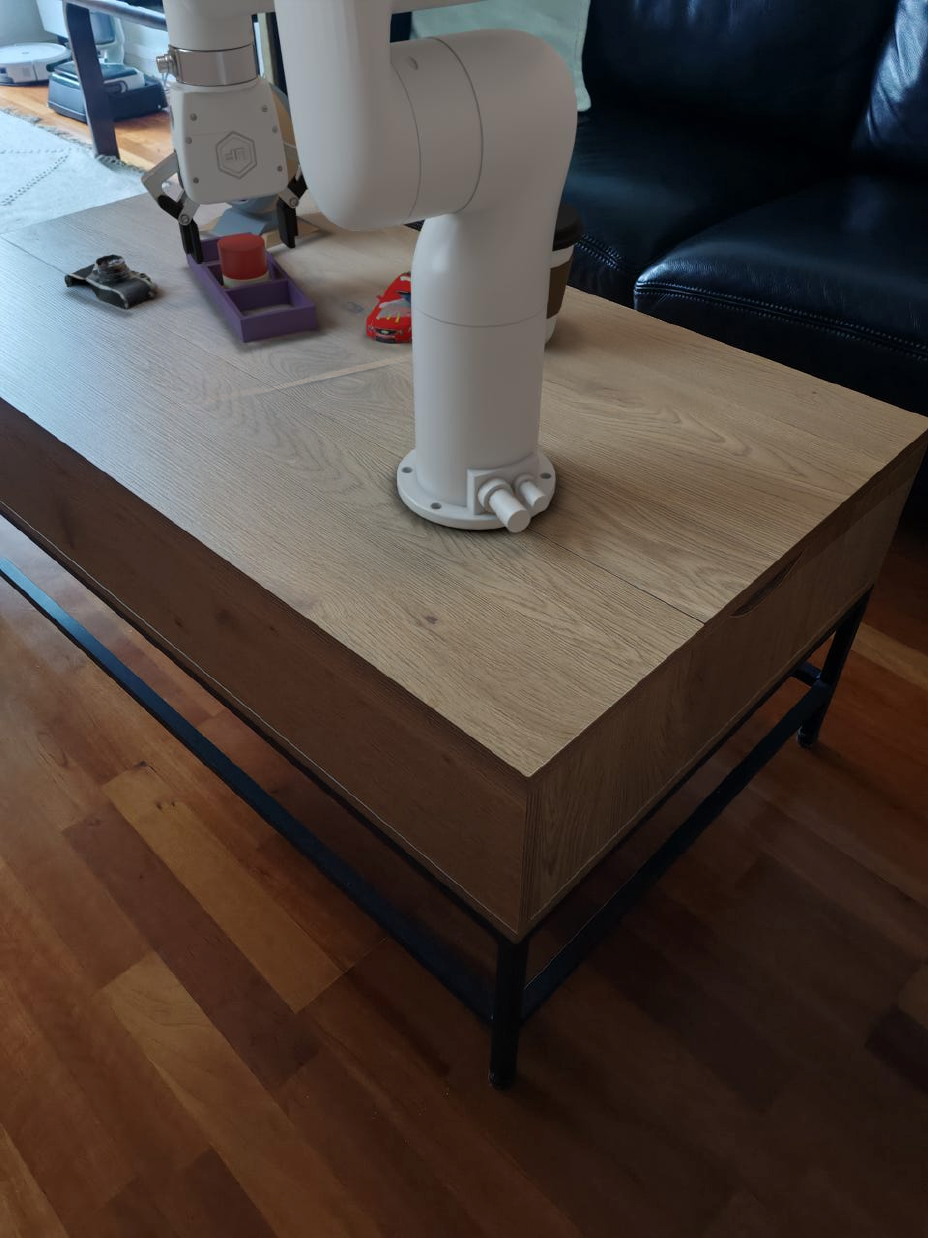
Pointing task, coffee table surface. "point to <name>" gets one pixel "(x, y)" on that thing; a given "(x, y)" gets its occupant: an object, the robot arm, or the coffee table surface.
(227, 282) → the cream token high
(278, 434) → the coffee table surface
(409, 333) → the race car
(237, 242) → the cylinder
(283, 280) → the board
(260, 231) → the alarm clock
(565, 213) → the coffee cup
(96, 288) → the camera
